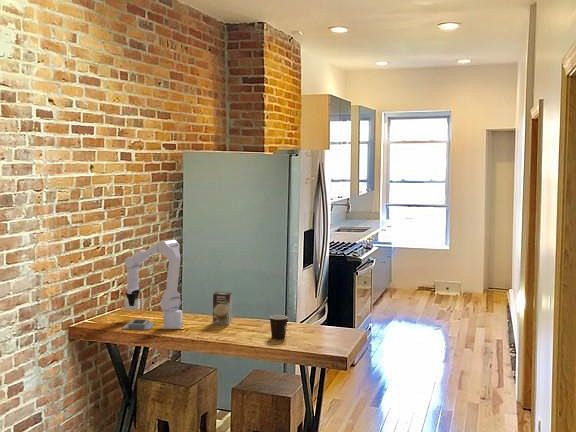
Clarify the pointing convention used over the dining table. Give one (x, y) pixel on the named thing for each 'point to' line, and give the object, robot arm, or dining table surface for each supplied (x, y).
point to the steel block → (136, 304)
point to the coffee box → (222, 308)
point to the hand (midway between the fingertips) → (132, 304)
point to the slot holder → (139, 324)
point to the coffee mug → (278, 326)
